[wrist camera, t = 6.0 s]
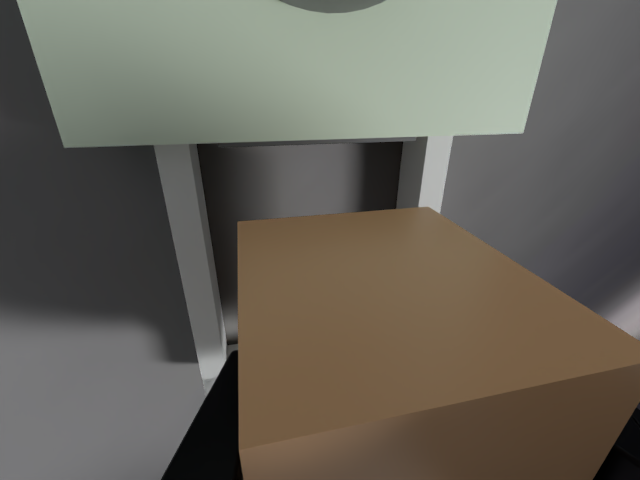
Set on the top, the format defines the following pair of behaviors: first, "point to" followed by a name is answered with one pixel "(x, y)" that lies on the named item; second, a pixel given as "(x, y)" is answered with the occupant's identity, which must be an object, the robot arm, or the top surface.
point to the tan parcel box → (417, 357)
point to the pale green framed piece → (281, 92)
